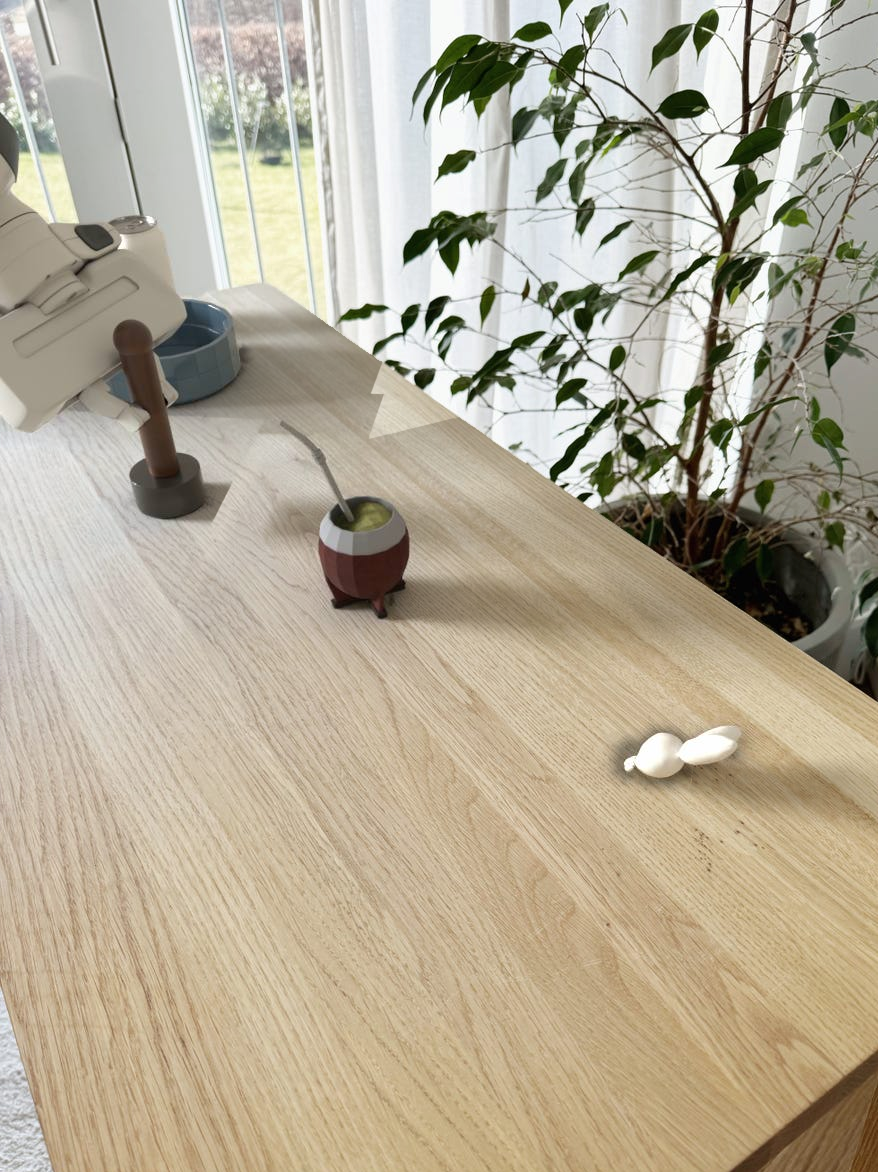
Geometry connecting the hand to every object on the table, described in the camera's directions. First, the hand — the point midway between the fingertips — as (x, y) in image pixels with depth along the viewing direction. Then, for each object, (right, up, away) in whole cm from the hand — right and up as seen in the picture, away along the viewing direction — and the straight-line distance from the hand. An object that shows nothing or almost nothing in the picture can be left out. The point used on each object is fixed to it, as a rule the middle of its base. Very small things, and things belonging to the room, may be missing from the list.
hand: (157, 414), depth 84 cm
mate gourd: (+17, -15, -2) cm, 23 cm away
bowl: (-7, +10, +27) cm, 30 cm away
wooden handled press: (0, -6, +6) cm, 8 cm away
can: (-12, +19, +36) cm, 42 cm away
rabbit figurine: (+41, -28, -16) cm, 52 cm away
